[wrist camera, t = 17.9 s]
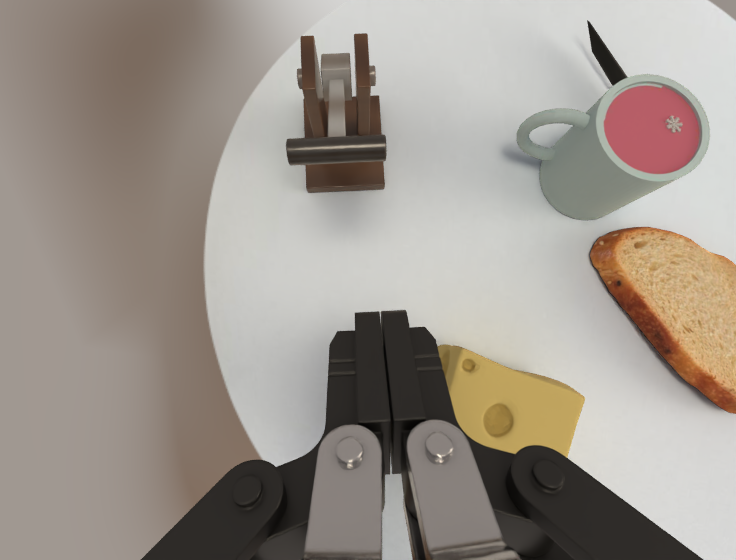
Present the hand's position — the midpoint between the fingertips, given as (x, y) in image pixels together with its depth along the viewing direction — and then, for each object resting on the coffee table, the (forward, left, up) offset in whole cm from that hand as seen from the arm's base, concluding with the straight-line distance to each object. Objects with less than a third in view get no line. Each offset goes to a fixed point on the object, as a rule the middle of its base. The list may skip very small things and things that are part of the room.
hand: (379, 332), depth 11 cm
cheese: (+9, -8, -27) cm, 29 cm away
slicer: (-2, +20, -27) cm, 33 cm away
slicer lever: (-2, +15, -14) cm, 21 cm away
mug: (+21, +16, -27) cm, 38 cm away
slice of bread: (+31, 0, -27) cm, 41 cm away
